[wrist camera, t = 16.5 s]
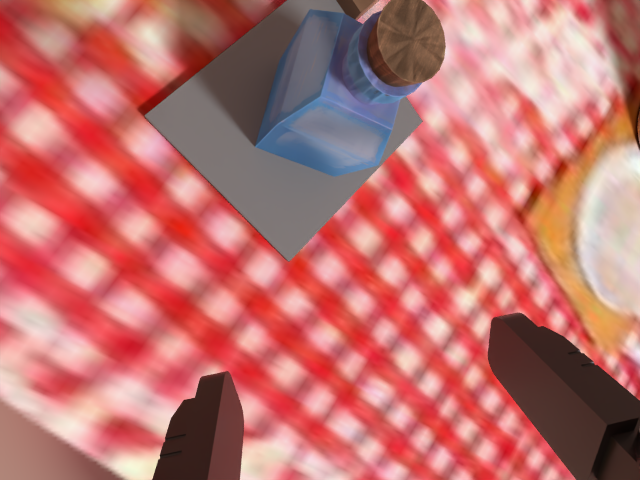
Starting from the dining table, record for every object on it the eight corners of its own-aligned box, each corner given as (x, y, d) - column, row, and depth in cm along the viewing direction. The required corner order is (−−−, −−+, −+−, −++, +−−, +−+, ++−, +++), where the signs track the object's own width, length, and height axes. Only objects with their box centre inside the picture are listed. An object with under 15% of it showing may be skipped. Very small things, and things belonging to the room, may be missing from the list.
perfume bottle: (279, 60, 23) (365, -86, 12) (356, 98, 25) (489, 5, 14) (254, 147, 23) (319, 81, 11) (334, 176, 25) (452, 146, 14)
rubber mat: (318, -23, 24) (321, -28, 23) (418, 123, 28) (422, 121, 27) (145, 118, 21) (144, 115, 20) (286, 260, 25) (289, 261, 24)
